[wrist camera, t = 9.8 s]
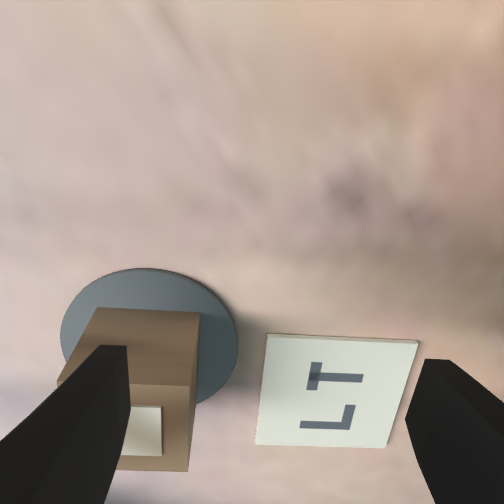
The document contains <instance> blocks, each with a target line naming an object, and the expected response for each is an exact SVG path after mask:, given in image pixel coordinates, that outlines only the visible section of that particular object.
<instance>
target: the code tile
mask: <svg viewBox="0 0 504 504" xmlns="http://www.w3.org/2000/svg"><path fill="white" fill-rule="evenodd" d="M417 347H418V343H417V341H416V340H394V339H373V338H351V337H330V336H309V335H287V334H267V340H266V349H265V357H264V366H263V374H262V383H261V391H260V400H259V408H258V417H257V425H256V434H255V444H261V445H294V446H327V447H360V448H385V447H386V444H387V441H388V437H389V434H390V431H391V428H392V425H393V422H394V419H395V416H396V412H397V409H398V406H399V403H400V400H401V397H402V394H403V391H404V387H405V384H406V381H407V378H408V375H409V372H410V369H411V366H412V362H413V359H414V356H415V353H416V350H417Z"/></svg>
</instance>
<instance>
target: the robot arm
mask: <svg viewBox="0 0 504 504" xmlns="http://www.w3.org/2000/svg"><path fill="white" fill-rule="evenodd" d="M130 412H131V402H130V387H129V373H128V358H127V346H124V345H101V344H100V345H99V346H98V347H97V348H95V350H94V351H93V352H92V353H91V354H90V355H89V356H88V357H87V358H86V359H85V360H84V361H83V362H82V363H81V364H80V365H79V366H78V367H77V368H76V369H75V370H74V371H73V372H72V374H71V375H70V376H69V377H68V378H67V379H66V380H65V381H64V382H63V383H62V384H61V385H60V386H59V387H58V388H57V389H56V390H55V391H54V392H53V393H52V394H51V395H50V396H48V397H47V398H46V399H45V400H44V401H43V402H42V403H41V404H40V405H39V406H38V407H37V408H36V409H35V410H34V411H33V412H32V413H31V414H30V415H29V416H28V417H27V418H26V419H24V420H23V421H22V422H21V423H20V424H19V425H18V426H17V427H15V428H14V429H13V430H12V431H11V432H10V433H9V434H8V435H6V436H5V437H4V438H3V439H2V440H1V441H0V504H104V502H105V499H106V496H107V493H108V491H109V488H110V485H111V482H112V479H113V476H114V473H115V470H116V467H117V464H118V461H119V458H120V455H121V452H122V448H123V443H124V439H125V435H126V430H127V426H128V421H129V416H130ZM405 421H406V425H407V428H408V432H409V435H410V439H411V443H412V446H413V449H414V452H415V455H416V459H417V461H418V464H419V466H420V469H421V471H422V474H423V476H424V478H425V481H426V483H427V485H428V488H429V490H430V492H431V495H432V497H433V499H434V501H435V504H504V403H503V402H502V401H501V400H500V399H498V398H497V397H496V396H495V395H493V394H492V393H491V392H490V391H488V390H487V389H486V388H485V387H484V386H482V385H481V384H480V383H479V382H477V381H476V380H475V379H474V378H472V377H471V376H470V375H469V374H467V373H466V372H465V371H464V370H462V369H461V368H460V367H458V366H457V365H456V364H454V363H453V362H452V361H450V360H442V359H425V361H424V364H423V367H422V370H421V373H420V376H419V379H418V382H417V385H416V388H415V391H414V394H413V397H412V400H411V403H410V405H409V408H408V411H407V414H406V417H405Z"/></svg>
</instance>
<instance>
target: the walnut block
mask: <svg viewBox="0 0 504 504" xmlns="http://www.w3.org/2000/svg"><path fill="white" fill-rule="evenodd" d="M199 336H200V312H186V311H166V310H147V309H127V308H108V307H97V308H96V310H95V312H94V314H93V315H92V317H91V319H90V321H89V323H88V325H87V326H86V328H85V330H84V332H83V334H82V336H81V337H80V339H79V341H78V343H77V345H76V347H75V348H74V350H73V352H72V354H71V356H70V358H69V359H68V361H67V363H66V365H65V367H64V369H63V370H62V372H61V374H60V376H59V378H58V380H57V386H58V387H59V386H60V385H61V384H62V383H63V382H64V381H65V380H66V379H67V378H68V377H69V376H70V375H71V374H72V372H73V371H74V370H75V369H76V368H77V367H78V366H79V365H80V364H81V363H82V362H83V361H84V360H85V359H86V358H87V357H88V356H89V355H90V354H91V353H92V352H93V351H94V350H95V348H97V347H98V346H99V345H100V344H101V345H124V346H127V358H128V373H129V387H130V402H131V412H130V416H129V421H128V426H127V430H126V435H125V439H124V443H123V448H122V452H121V455H120V458H119V461H118V464H117V467H116V470H134V471H170V472H188V466H189V457H190V449H191V441H192V433H193V424H194V416H195V408H196V399H197V391H198V368H199Z"/></svg>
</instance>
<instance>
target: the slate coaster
mask: <svg viewBox="0 0 504 504" xmlns="http://www.w3.org/2000/svg"><path fill="white" fill-rule="evenodd" d="M97 307H108V308H127V309H147V310H166V311H186V312H200V336H199V368H198V391H197V399H196V404H197V403H200V402H202V401H204V400H205V399H207V398H209V397H210V396H212V395H213V394H214V393H215V392H217V391H218V390H219V389H220V388H221V387H222V386H223V385H224V383H225V382H226V381H227V379H228V378H229V376H230V375H231V373H232V371H233V368H234V365H235V362H236V358H237V333H236V328H235V325H234V322H233V320H232V318H231V316H230V314H229V312H228V311H227V309H226V308H225V306H224V305H223V303H222V302H221V301H220V300H219V299H218V298H217V297H216V296H215V295H214V294H213V293H211V292H210V291H209V290H208V289H207V288H205V287H204V286H202V285H200V284H199V283H197V282H196V281H193V280H191V279H189V278H187V277H185V276H182V275H179V274H176V273H174V272H169V271H165V270H159V269H150V268H136V269H128V270H122V271H118V272H114V273H111V274H108V275H105V276H103V277H101V278H99V279H97V280H95V281H93V282H92V283H90V284H89V285H88V286H86V287H85V288H84V289H83V290H82V291H81V292H80V293H79V294H78V295H77V296H76V297H75V299H74V300H73V302H72V303H71V304H70V306H69V307H68V309H67V311H66V313H65V315H64V318H63V321H62V325H61V333H60V339H61V347H62V352H63V355H64V357H65V360H66V362H67V361H68V359H69V358H70V356H71V354H72V352H73V350H74V348H75V347H76V345H77V343H78V341H79V339H80V337H81V336H82V334H83V332H84V330H85V328H86V326H87V325H88V323H89V321H90V319H91V317H92V315H93V314H94V312H95V310H96V308H97Z"/></svg>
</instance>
